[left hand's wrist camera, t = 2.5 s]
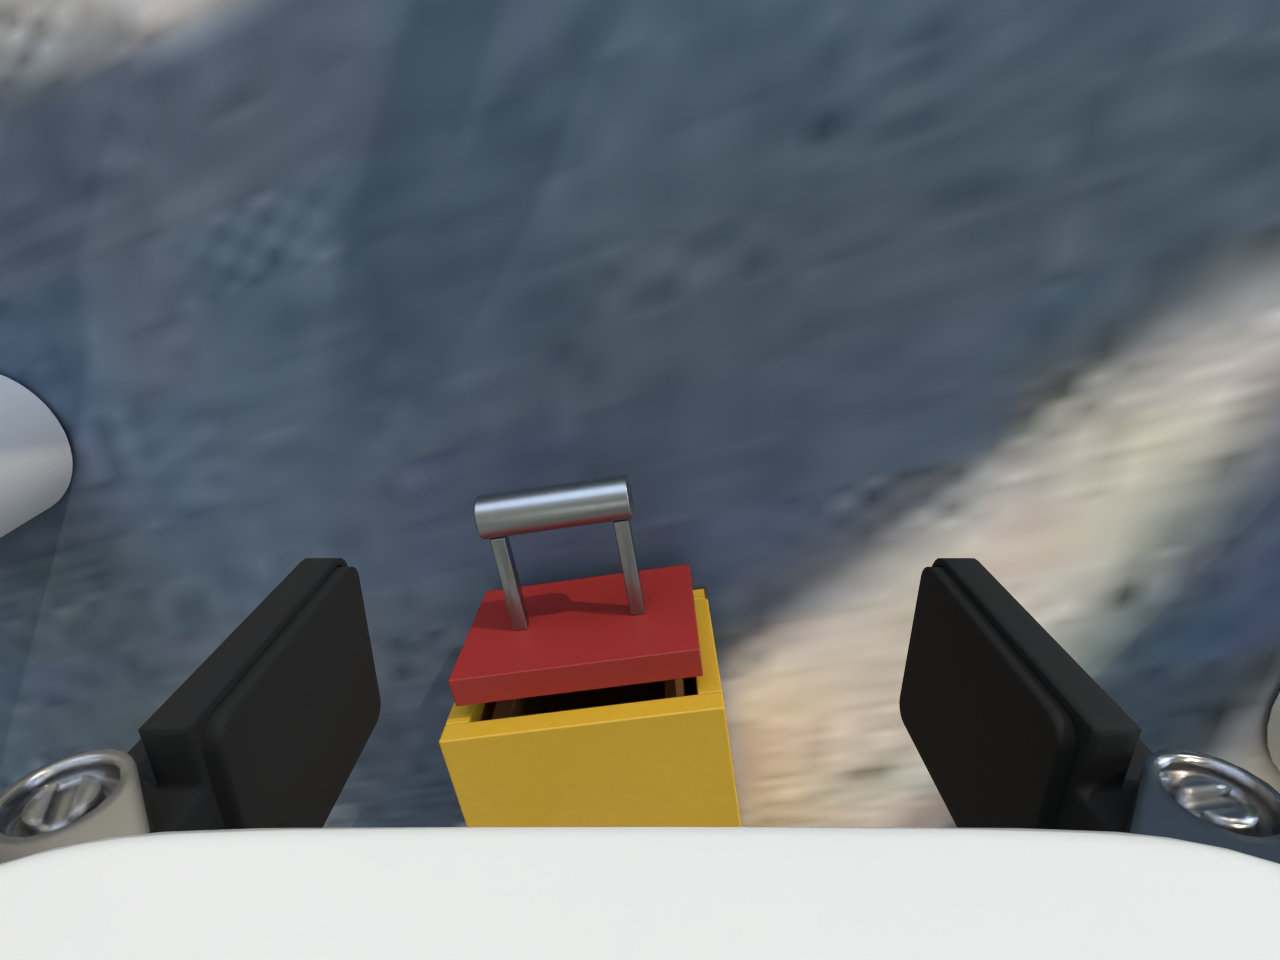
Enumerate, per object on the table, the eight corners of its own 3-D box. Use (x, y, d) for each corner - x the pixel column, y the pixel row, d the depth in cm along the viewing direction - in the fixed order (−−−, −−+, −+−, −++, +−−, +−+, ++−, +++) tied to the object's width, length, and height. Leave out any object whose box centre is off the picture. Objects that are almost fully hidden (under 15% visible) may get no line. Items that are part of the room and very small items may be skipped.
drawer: (453, 472, 29) (402, 540, 23) (670, 440, 28) (677, 501, 22) (561, 864, 37) (545, 989, 31) (730, 846, 36) (747, 969, 31)
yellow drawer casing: (487, 616, 32) (437, 742, 25) (705, 587, 32) (725, 707, 24) (563, 889, 39) (543, 1056, 31) (745, 870, 38) (770, 1036, 31)
